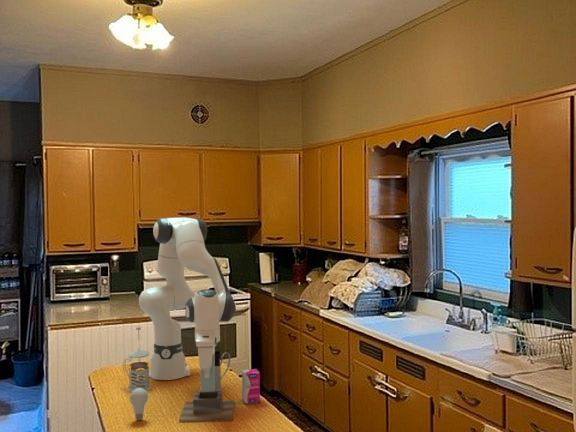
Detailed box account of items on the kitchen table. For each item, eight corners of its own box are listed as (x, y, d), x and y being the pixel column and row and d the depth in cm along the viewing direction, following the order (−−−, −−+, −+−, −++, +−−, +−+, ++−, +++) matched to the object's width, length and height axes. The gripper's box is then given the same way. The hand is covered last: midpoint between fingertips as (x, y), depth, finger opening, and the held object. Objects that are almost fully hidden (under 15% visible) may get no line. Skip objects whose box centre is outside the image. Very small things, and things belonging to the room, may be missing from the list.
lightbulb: (150, 416, 203) (149, 385, 203) (146, 423, 197) (145, 390, 196) (132, 417, 203) (131, 385, 202) (128, 423, 196) (127, 391, 196)
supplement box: (244, 405, 214) (244, 373, 214) (241, 399, 220) (241, 369, 219) (260, 403, 215) (260, 372, 215) (256, 398, 221) (256, 368, 221)
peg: (202, 387, 209) (201, 354, 209) (215, 387, 209) (214, 354, 209) (201, 391, 204) (200, 357, 204) (214, 391, 204) (213, 357, 204)
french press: (145, 392, 229) (144, 329, 229) (118, 391, 231) (117, 328, 231) (155, 385, 239) (155, 324, 238) (129, 383, 241) (128, 323, 241)
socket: (185, 404, 215) (185, 388, 215) (234, 402, 216) (234, 386, 216) (179, 422, 197) (179, 404, 197) (232, 420, 198) (232, 403, 198)
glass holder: (195, 390, 231) (194, 353, 231) (223, 382, 241) (222, 346, 241) (208, 395, 225) (208, 357, 224) (237, 387, 235) (236, 350, 234)
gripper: (201, 330, 217) (201, 367, 217) (195, 343, 196) (195, 384, 196) (218, 329, 217) (218, 366, 217) (214, 342, 196) (214, 383, 197)
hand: (207, 375), depth 207 cm, fingers closed on peg, 4 cm apart
